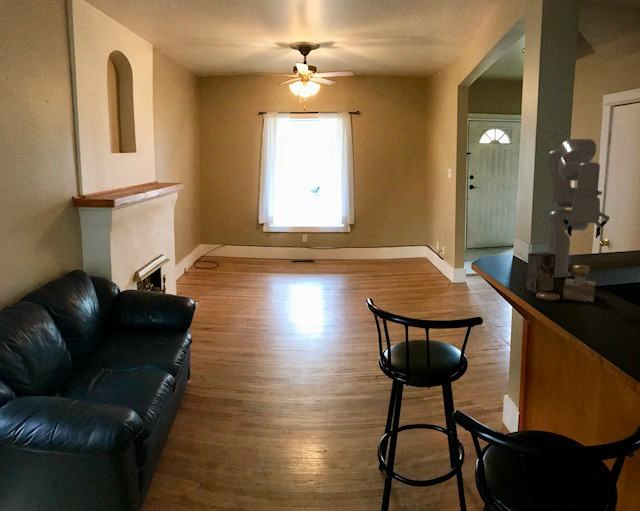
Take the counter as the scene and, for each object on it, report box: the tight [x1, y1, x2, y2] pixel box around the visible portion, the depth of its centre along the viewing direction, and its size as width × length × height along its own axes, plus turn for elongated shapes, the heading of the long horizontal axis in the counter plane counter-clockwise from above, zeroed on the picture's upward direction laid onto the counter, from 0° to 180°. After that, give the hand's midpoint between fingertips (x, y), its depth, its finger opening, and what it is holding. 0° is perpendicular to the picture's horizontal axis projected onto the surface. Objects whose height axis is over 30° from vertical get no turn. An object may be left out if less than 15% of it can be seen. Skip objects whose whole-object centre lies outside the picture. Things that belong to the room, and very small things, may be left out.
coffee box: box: [526, 251, 555, 293], centre depth 220 cm, size 9×6×16 cm
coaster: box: [535, 291, 561, 301], centre depth 210 cm, size 9×9×1 cm
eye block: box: [562, 278, 596, 303], centre depth 209 cm, size 11×11×6 cm
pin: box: [572, 264, 591, 285], centre depth 209 cm, size 6×6×13 cm
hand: (583, 236), depth 205 cm, fingers open, 9 cm apart
